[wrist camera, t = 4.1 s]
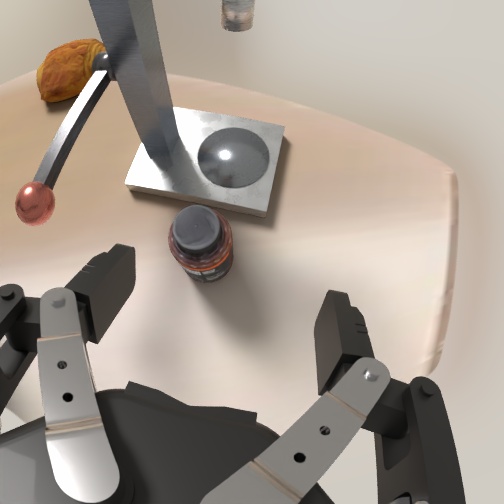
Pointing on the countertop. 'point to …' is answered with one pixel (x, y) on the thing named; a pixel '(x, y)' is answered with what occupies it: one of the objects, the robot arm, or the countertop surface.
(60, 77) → the croissant
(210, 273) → the supplement bottle
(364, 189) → the countertop surface
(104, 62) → the lever
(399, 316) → the countertop surface
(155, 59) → the press
